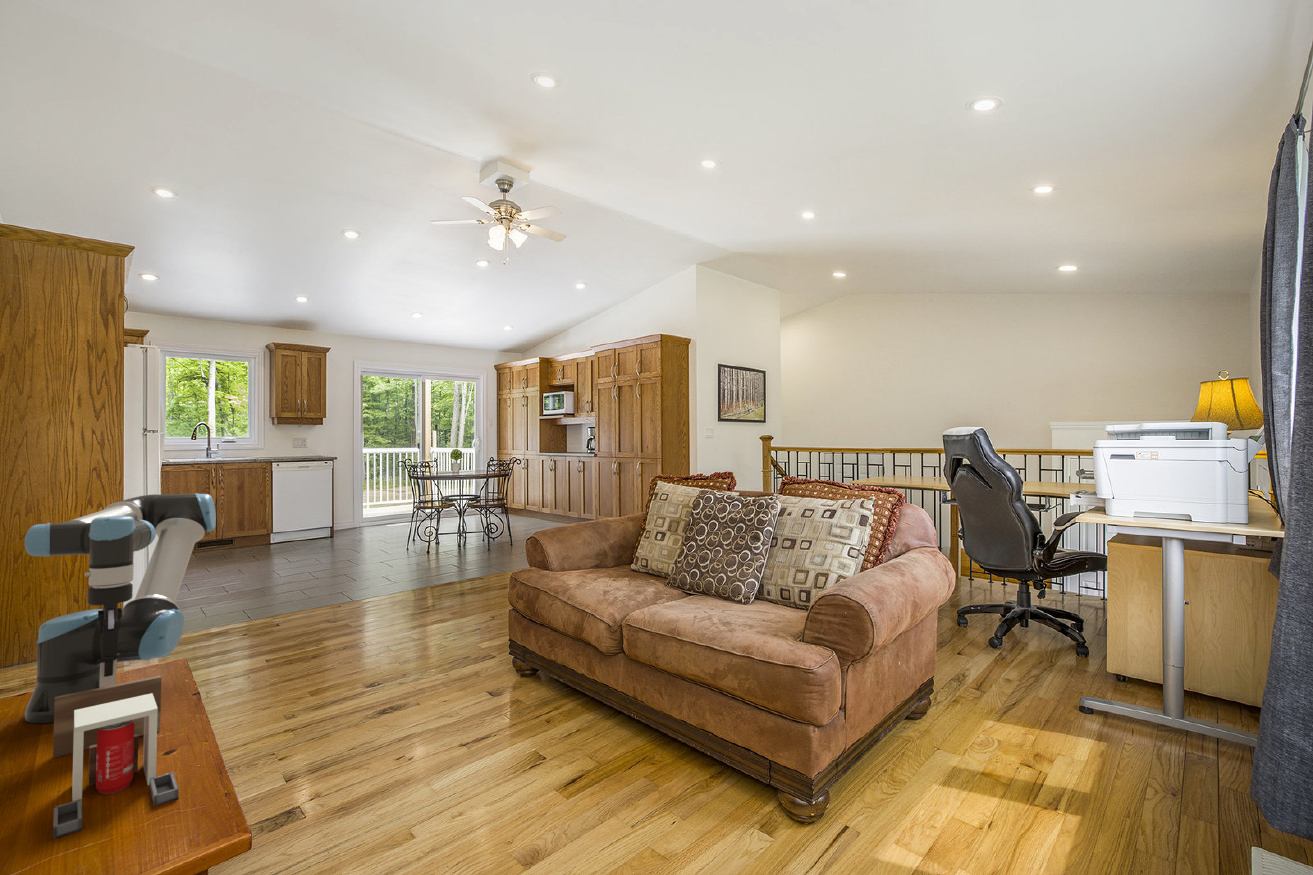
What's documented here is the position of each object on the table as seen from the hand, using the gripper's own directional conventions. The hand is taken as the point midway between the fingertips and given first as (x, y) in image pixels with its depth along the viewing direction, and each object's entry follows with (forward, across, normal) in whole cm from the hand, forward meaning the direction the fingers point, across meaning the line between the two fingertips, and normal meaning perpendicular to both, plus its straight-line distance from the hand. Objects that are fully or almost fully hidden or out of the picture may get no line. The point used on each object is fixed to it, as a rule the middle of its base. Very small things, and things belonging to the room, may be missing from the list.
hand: (107, 689), depth 134 cm
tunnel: (+10, +30, 0) cm, 31 cm away
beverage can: (+10, +31, 0) cm, 33 cm away
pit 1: (+10, +40, -6) cm, 42 cm away
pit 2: (+10, +40, +7) cm, 42 cm away
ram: (+9, +17, 0) cm, 20 cm away
